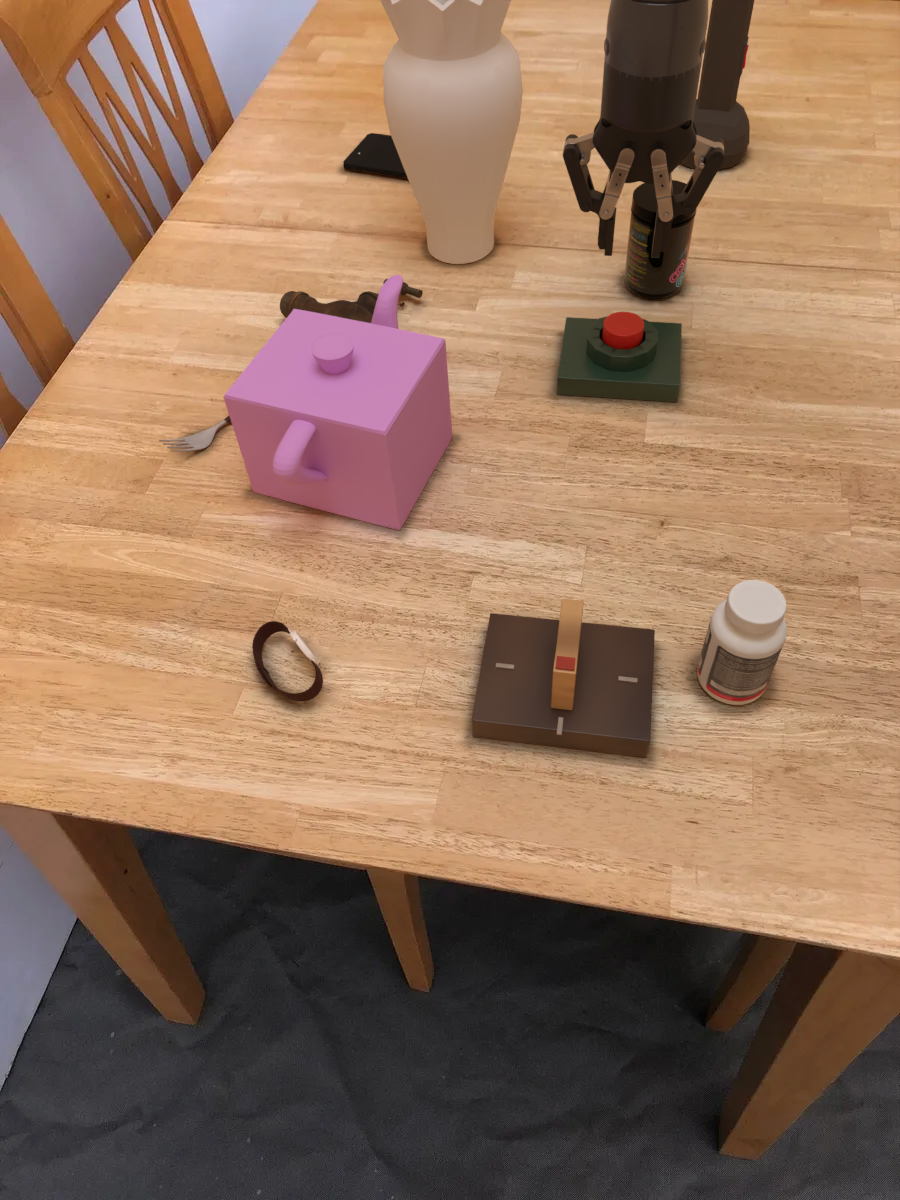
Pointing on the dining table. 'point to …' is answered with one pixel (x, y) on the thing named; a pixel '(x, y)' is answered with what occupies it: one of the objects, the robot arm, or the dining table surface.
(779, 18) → the dining table surface
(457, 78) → the vase
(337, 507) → the teapot
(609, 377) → the switch box
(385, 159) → the cell phone
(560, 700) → the handle
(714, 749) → the dining table surface
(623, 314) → the button
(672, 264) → the supplement container
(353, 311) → the faucet
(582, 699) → the panel
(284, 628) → the watch
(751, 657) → the pill bottle
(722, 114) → the flashlight
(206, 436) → the fork
